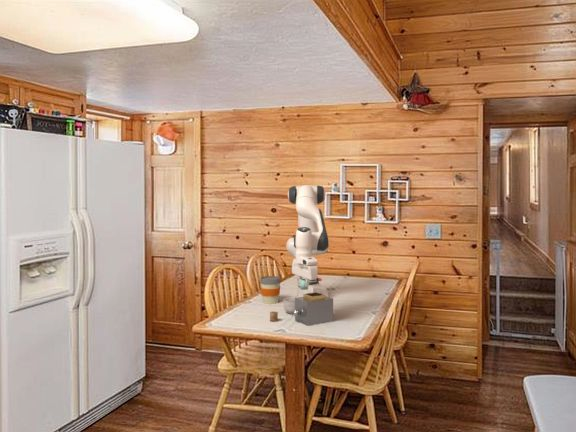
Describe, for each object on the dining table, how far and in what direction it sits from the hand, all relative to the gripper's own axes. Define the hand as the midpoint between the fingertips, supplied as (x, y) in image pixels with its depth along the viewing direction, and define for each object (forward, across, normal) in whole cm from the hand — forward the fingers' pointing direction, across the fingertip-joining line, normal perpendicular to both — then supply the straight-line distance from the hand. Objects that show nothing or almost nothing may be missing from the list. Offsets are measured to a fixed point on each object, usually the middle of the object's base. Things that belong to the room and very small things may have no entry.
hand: (304, 285), depth 268 cm
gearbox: (+19, +1, +4) cm, 20 cm away
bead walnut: (+19, -10, -13) cm, 25 cm away
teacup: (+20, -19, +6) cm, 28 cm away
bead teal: (+2, 0, 0) cm, 2 cm away
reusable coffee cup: (+20, -47, +4) cm, 51 cm away
